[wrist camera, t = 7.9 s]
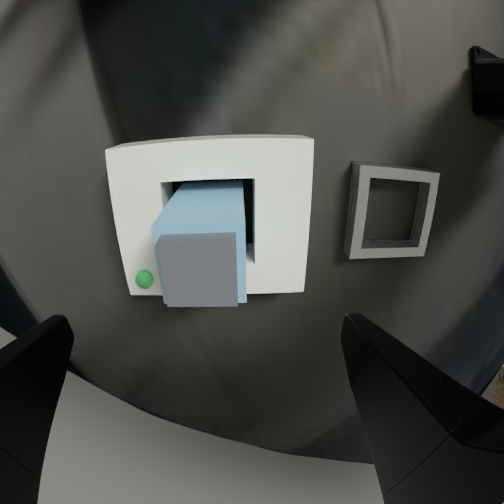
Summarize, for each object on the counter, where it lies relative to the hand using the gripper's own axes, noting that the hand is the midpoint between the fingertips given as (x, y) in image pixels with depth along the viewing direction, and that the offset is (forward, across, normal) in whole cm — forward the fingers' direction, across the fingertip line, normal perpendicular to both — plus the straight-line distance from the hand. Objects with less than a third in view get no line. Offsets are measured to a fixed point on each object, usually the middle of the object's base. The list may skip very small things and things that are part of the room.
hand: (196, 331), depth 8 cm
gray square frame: (+13, -12, 0) cm, 18 cm away
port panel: (+13, 0, 0) cm, 13 cm away
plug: (+13, 0, 0) cm, 13 cm away
